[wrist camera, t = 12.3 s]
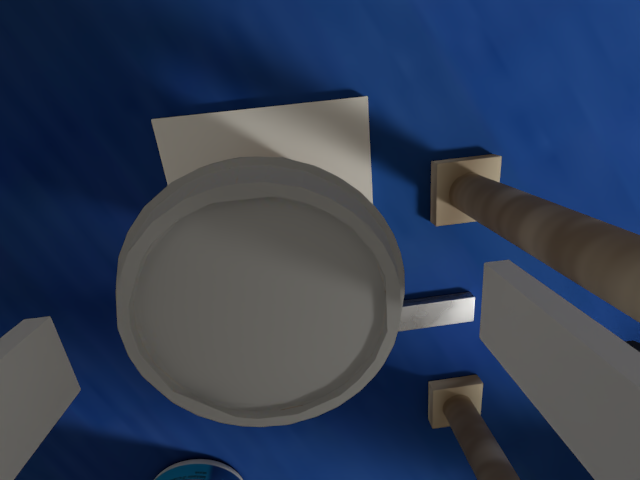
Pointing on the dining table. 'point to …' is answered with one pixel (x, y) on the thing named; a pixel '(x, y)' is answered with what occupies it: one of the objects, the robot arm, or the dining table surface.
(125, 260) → the disposable coffee cup
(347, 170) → the tile
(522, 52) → the dining table surface
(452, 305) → the guide strip
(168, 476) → the beverage bottle
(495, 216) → the gate posts
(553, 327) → the robot arm
